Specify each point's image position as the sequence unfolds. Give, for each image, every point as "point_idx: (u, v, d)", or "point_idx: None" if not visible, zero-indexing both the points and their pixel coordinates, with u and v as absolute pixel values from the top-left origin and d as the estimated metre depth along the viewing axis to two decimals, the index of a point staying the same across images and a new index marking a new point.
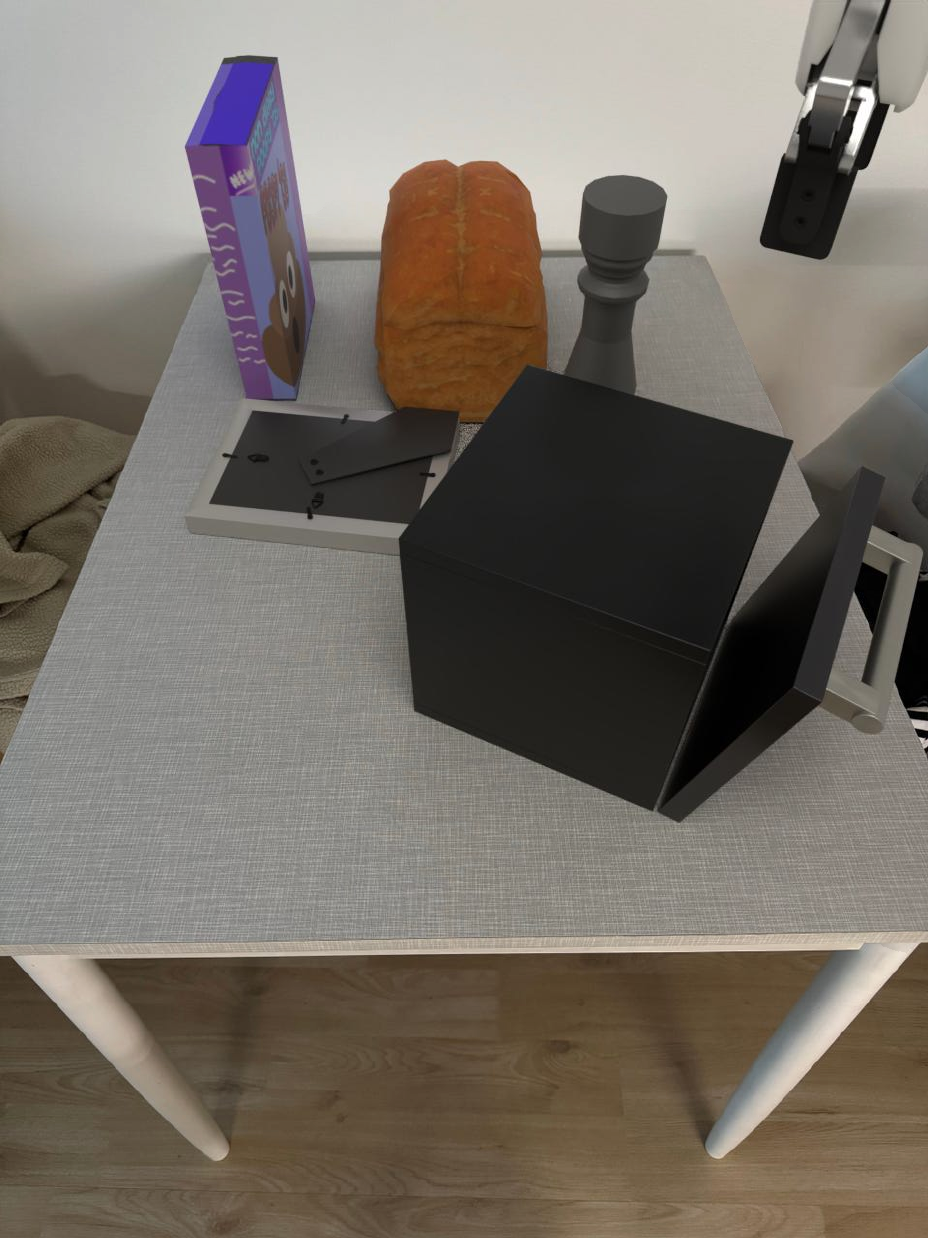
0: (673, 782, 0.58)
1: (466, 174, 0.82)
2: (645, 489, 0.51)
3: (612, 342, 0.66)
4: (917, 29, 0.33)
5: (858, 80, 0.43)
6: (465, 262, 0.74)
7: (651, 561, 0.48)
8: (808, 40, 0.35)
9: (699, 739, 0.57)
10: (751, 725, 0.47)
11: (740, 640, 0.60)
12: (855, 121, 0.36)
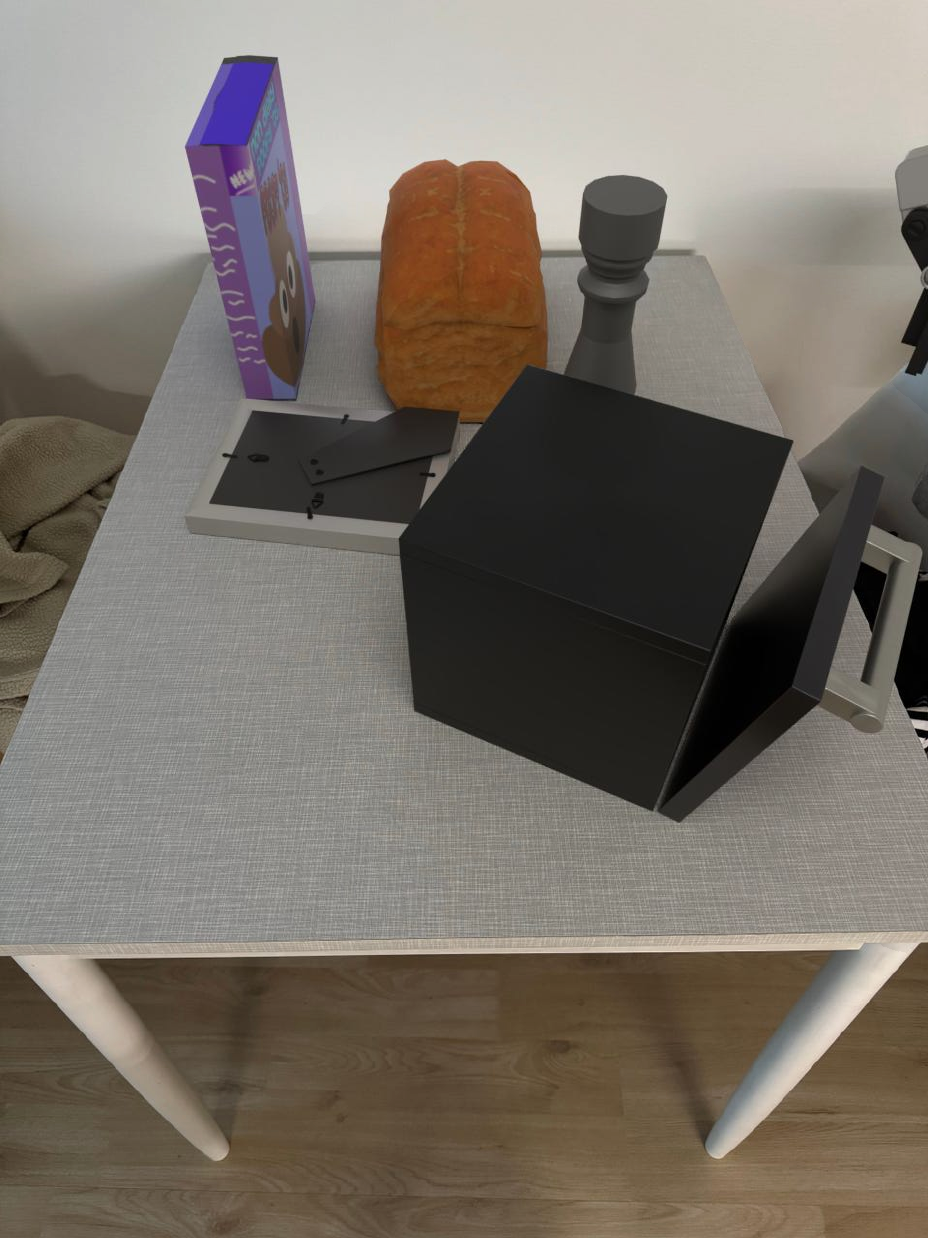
0: (673, 782, 0.58)
1: (466, 174, 0.82)
2: (645, 489, 0.51)
3: (612, 342, 0.66)
4: None
5: None
6: (465, 262, 0.74)
7: (651, 561, 0.48)
8: None
9: (699, 739, 0.57)
10: (750, 724, 0.47)
11: (740, 640, 0.61)
12: None
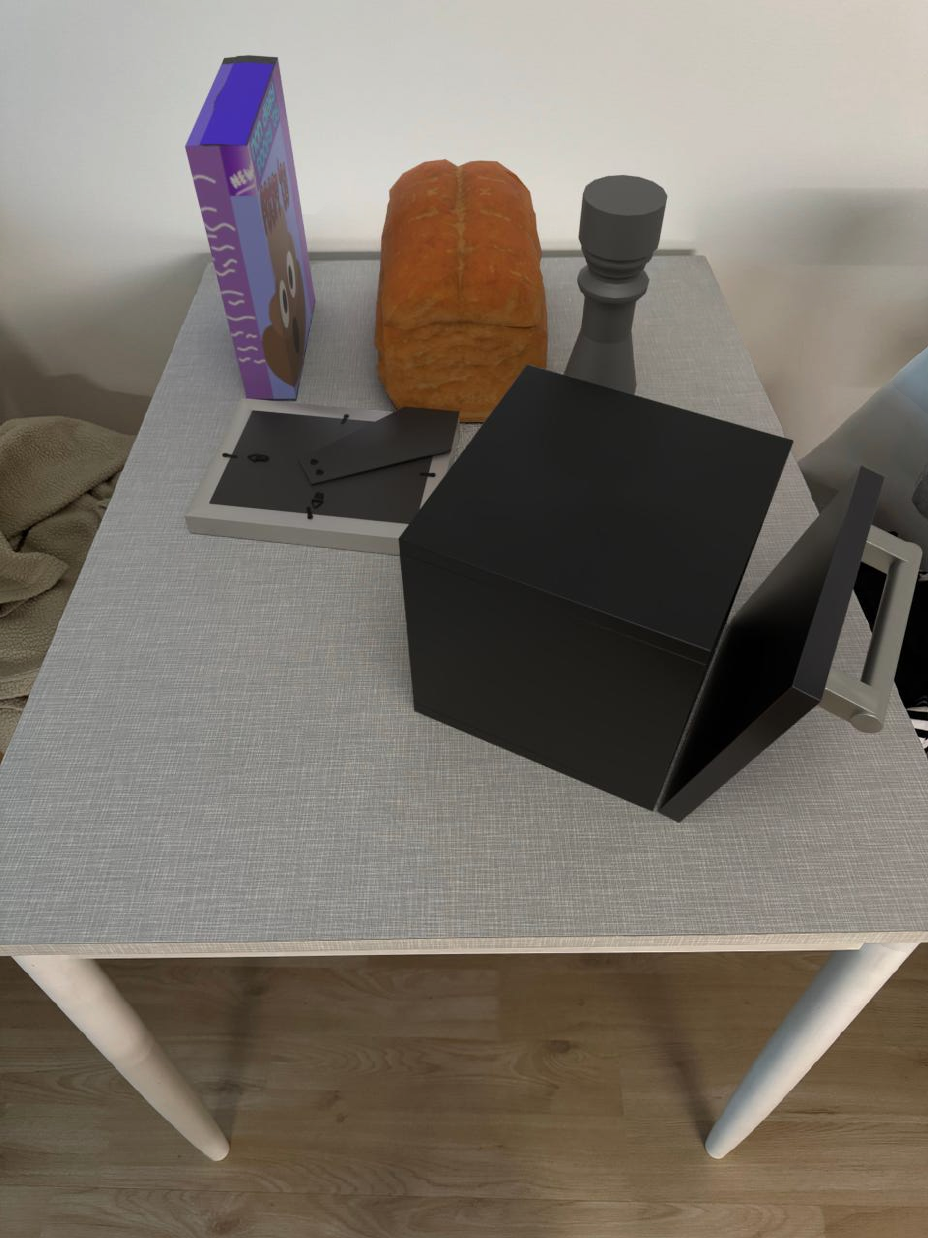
0: (673, 782, 0.58)
1: (466, 174, 0.82)
2: (645, 489, 0.51)
3: (612, 342, 0.66)
4: None
5: None
6: (465, 262, 0.74)
7: (651, 561, 0.48)
8: None
9: (699, 739, 0.57)
10: (750, 724, 0.47)
11: (740, 640, 0.61)
12: None
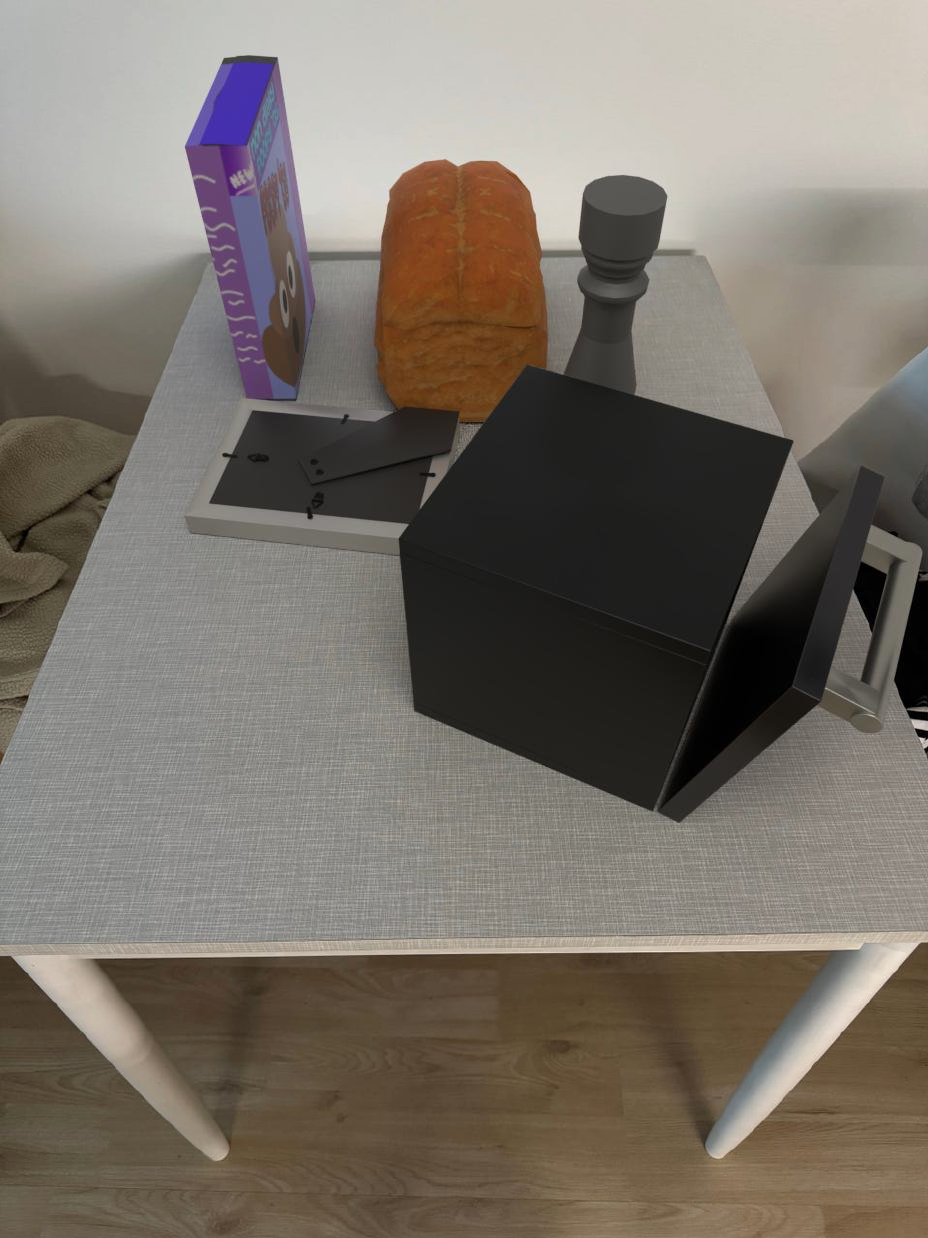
0: (673, 782, 0.58)
1: (466, 174, 0.82)
2: (645, 489, 0.51)
3: (612, 342, 0.66)
4: None
5: None
6: (465, 262, 0.74)
7: (651, 561, 0.48)
8: None
9: (699, 739, 0.57)
10: (750, 724, 0.47)
11: (740, 640, 0.61)
12: None
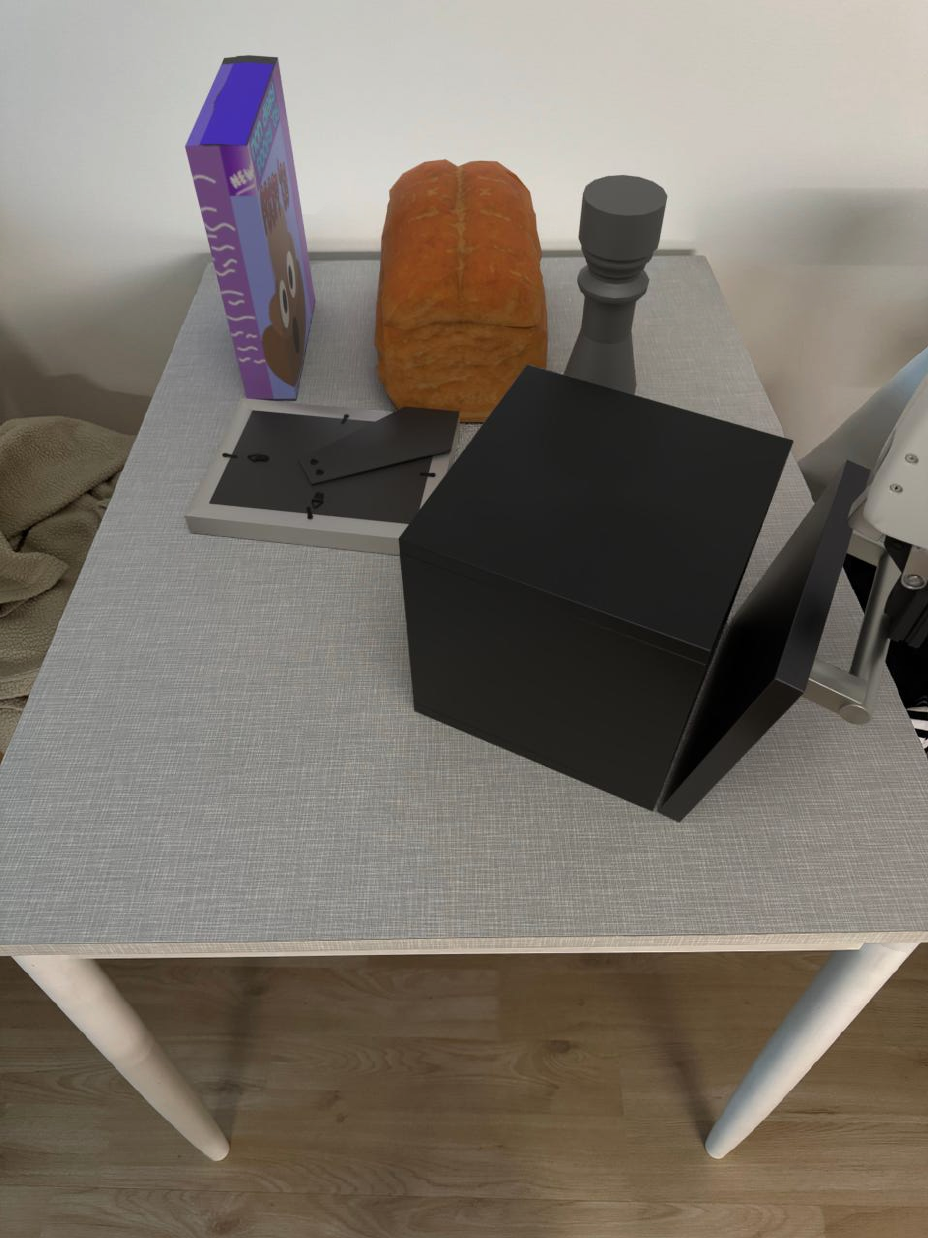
0: (672, 782, 0.58)
1: (466, 174, 0.82)
2: (645, 489, 0.51)
3: (612, 342, 0.66)
4: None
5: None
6: (465, 262, 0.74)
7: (651, 561, 0.48)
8: None
9: (696, 738, 0.57)
10: (738, 719, 0.47)
11: (736, 639, 0.61)
12: None
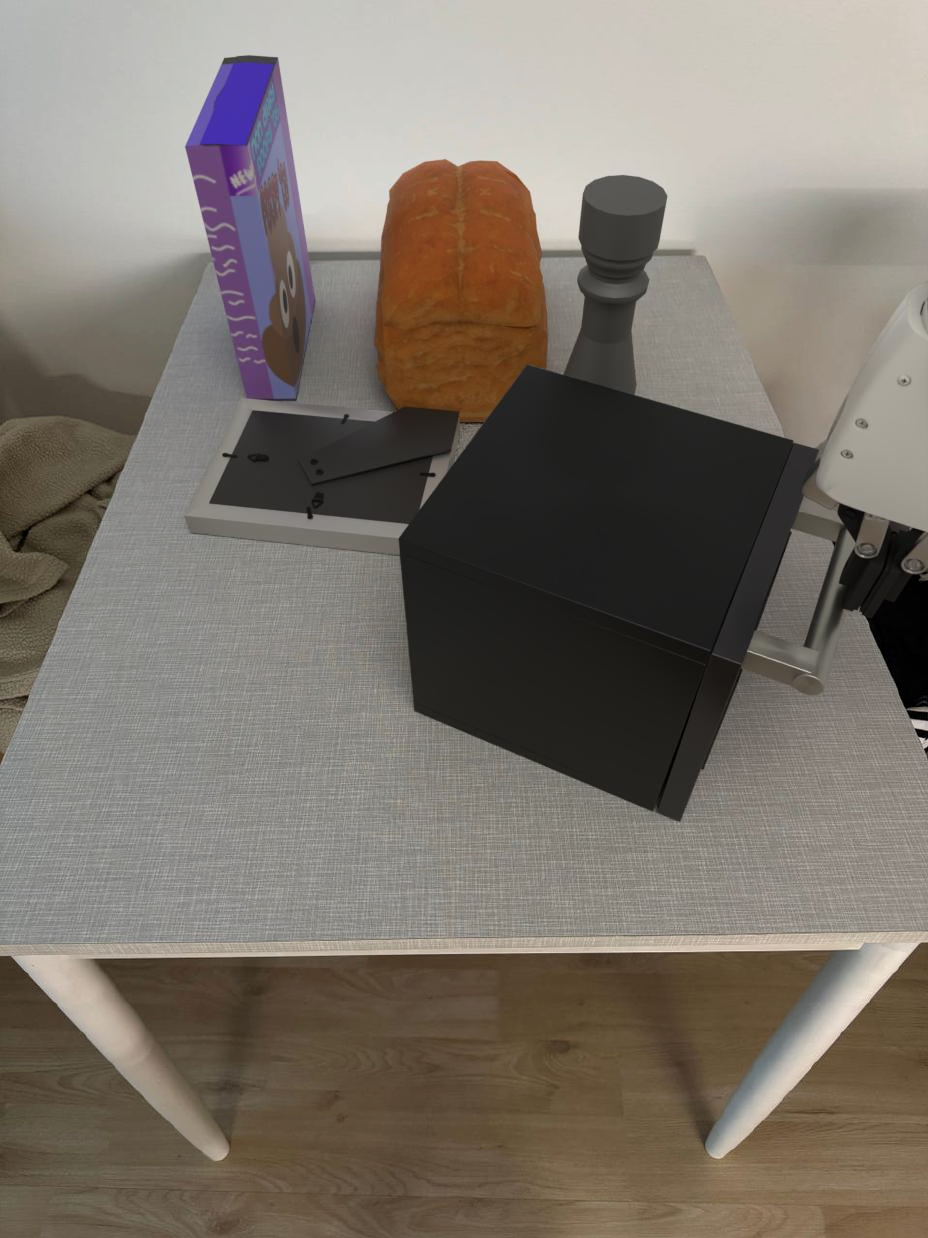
0: None
1: (466, 174, 0.82)
2: (645, 489, 0.51)
3: (612, 342, 0.66)
4: None
5: None
6: (465, 262, 0.74)
7: (651, 561, 0.48)
8: None
9: None
10: (694, 702, 0.48)
11: None
12: None
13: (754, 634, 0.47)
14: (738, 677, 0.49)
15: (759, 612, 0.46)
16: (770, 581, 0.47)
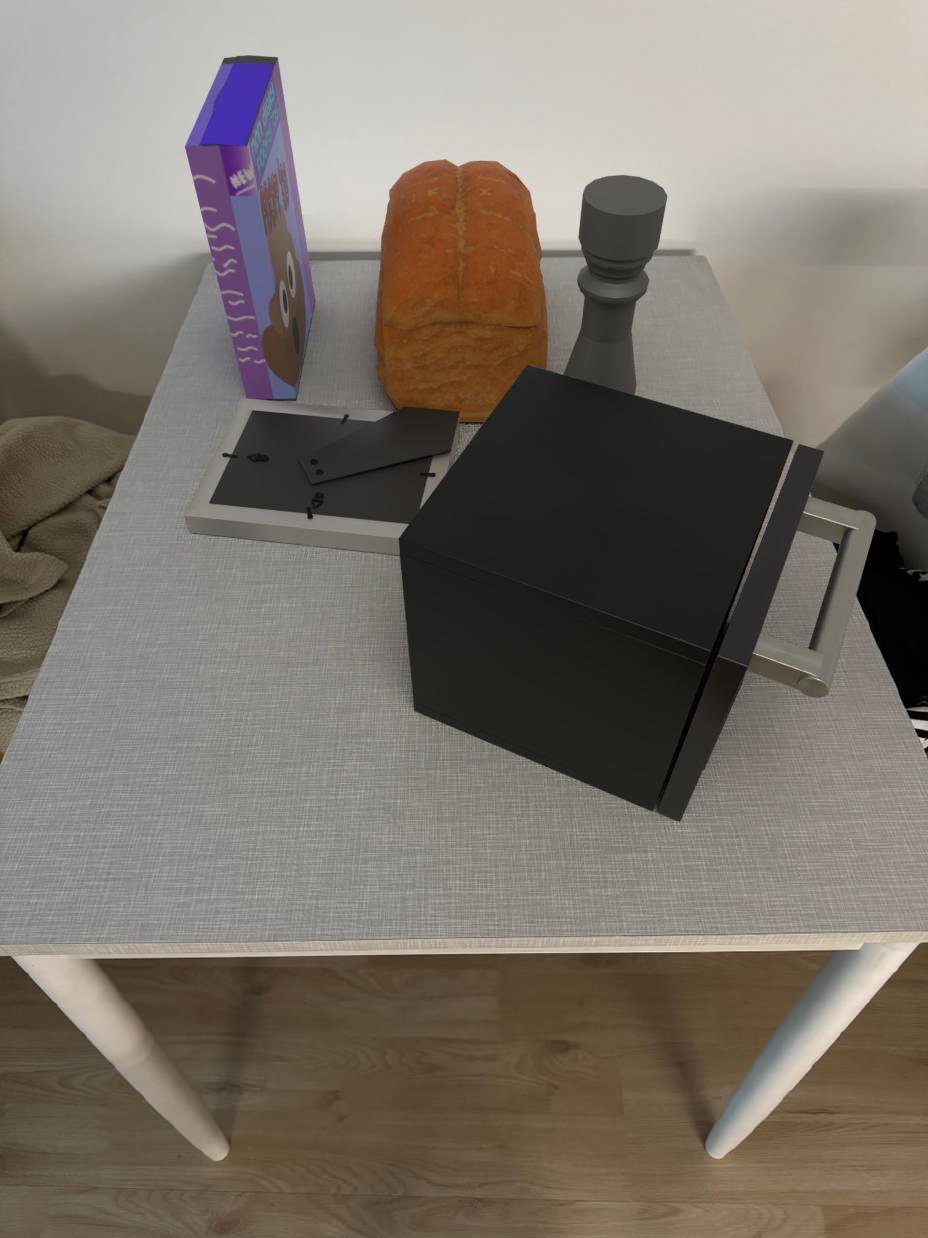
0: None
1: (466, 174, 0.82)
2: (645, 489, 0.51)
3: (612, 342, 0.66)
4: None
5: None
6: (465, 262, 0.74)
7: (651, 561, 0.48)
8: None
9: None
10: None
11: None
12: None
13: (759, 636, 0.47)
14: None
15: (765, 614, 0.46)
16: (776, 583, 0.47)
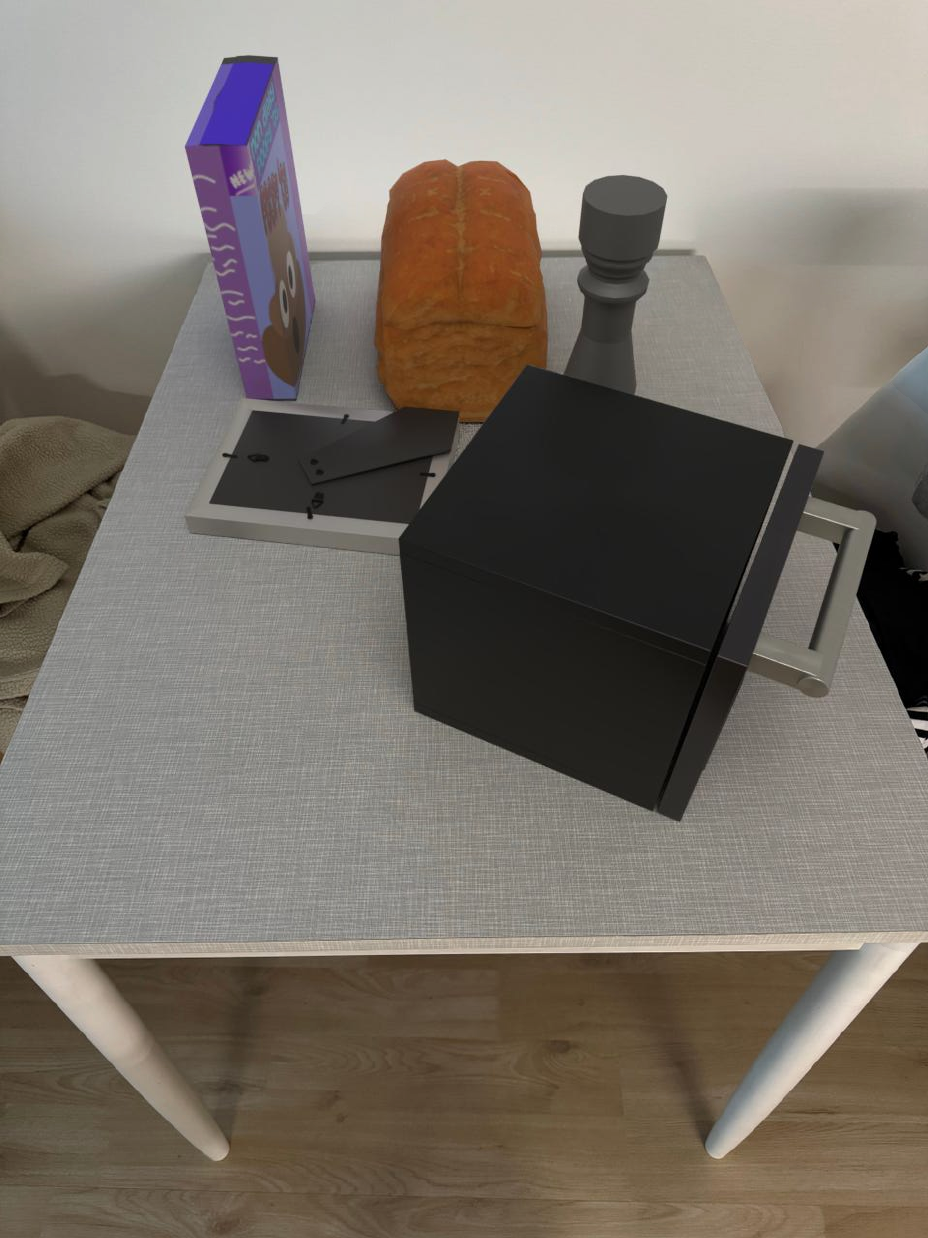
0: None
1: (466, 174, 0.82)
2: (645, 489, 0.51)
3: (612, 342, 0.66)
4: None
5: None
6: (465, 262, 0.74)
7: (651, 561, 0.48)
8: None
9: None
10: None
11: None
12: None
13: (759, 636, 0.47)
14: None
15: (765, 614, 0.46)
16: (776, 583, 0.47)
